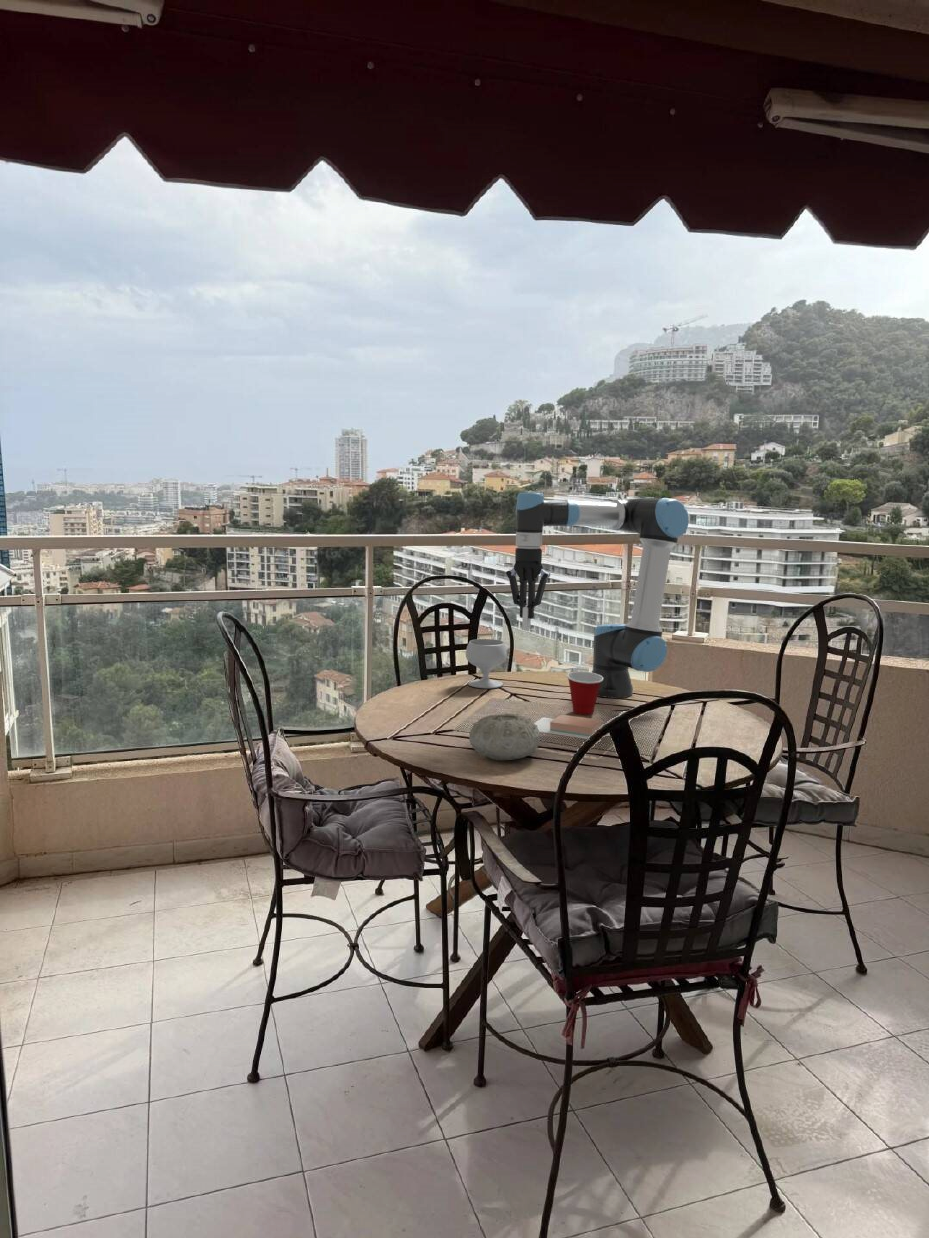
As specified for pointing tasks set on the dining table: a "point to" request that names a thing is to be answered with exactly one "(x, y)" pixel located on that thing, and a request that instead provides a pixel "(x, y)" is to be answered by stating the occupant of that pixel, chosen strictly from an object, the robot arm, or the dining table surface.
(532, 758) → the dining table surface
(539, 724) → the mat
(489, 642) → the chalice
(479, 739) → the grey rounded stone
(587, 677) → the plastic cup
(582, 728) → the tan flat block
